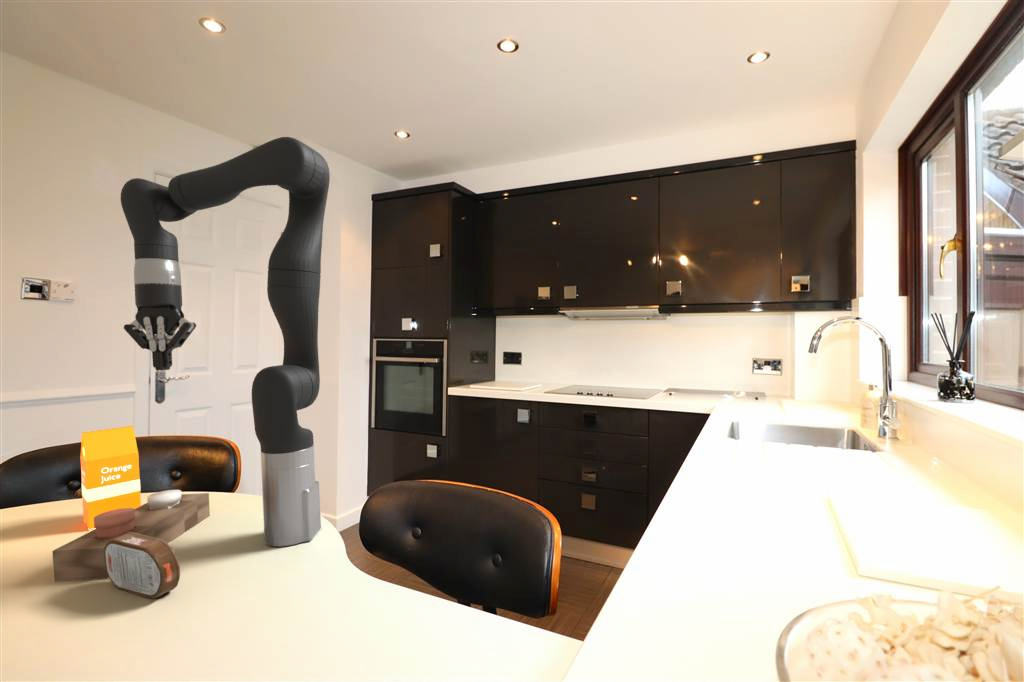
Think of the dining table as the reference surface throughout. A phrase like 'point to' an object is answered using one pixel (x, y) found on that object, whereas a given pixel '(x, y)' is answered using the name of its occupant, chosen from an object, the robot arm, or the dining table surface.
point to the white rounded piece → (164, 499)
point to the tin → (141, 565)
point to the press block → (166, 524)
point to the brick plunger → (114, 522)
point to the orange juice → (109, 471)
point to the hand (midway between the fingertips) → (162, 369)
